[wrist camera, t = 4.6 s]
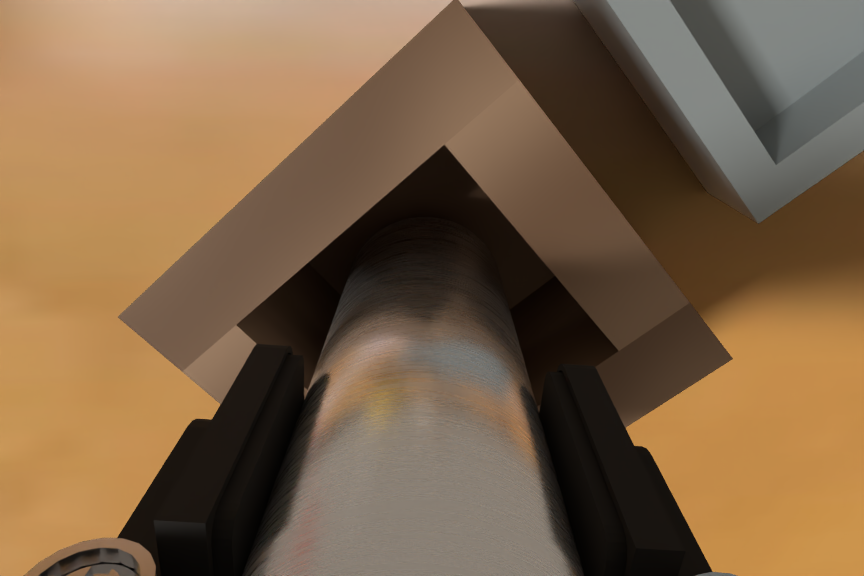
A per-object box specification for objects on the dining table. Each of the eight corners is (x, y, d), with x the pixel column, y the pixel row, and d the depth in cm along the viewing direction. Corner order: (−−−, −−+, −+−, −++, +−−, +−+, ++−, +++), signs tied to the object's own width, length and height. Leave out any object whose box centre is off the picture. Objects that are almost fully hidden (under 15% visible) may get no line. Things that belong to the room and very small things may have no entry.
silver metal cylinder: (531, 298, 16) (826, 1074, 4) (418, 383, 17) (381, 1211, 5) (432, 184, 15) (429, 797, 3) (316, 283, 16) (-46, 1045, 4)
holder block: (643, 258, 18) (732, 358, 13) (417, 420, 21) (410, 564, 15) (449, 8, 16) (456, -3, 10) (215, 227, 18) (117, 316, 12)
